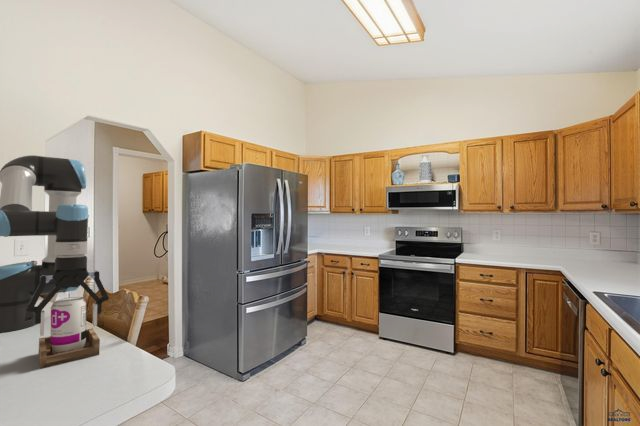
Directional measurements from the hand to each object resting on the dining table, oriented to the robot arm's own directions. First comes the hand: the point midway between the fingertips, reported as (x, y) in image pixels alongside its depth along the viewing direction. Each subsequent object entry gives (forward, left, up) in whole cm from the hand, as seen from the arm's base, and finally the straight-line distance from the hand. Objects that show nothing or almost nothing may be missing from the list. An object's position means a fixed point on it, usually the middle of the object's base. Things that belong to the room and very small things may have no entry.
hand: (69, 329), depth 93 cm
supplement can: (0, 0, -6) cm, 6 cm away
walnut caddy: (0, 0, -7) cm, 7 cm away
